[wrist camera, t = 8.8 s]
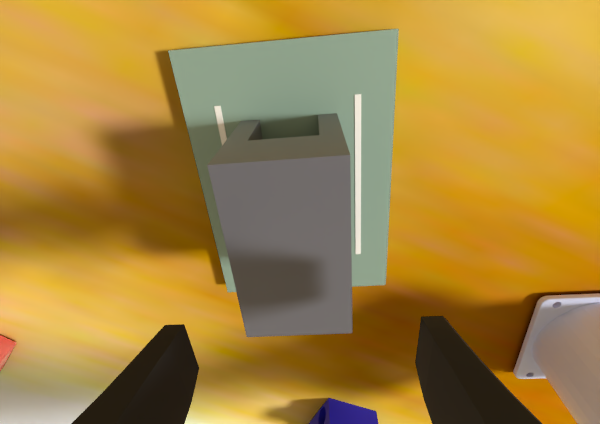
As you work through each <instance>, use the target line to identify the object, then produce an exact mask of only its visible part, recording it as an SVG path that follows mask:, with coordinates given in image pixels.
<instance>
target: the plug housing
mask: <svg viewBox="0 0 600 424" xmlns="http://www.w3.org/2000/svg"><path fill="white" fill-rule="evenodd" d="M318 124H319V135H315V136H302V137H288V138H275V139H262V132H261V125H260V119H259V120H246V121H241V122H240V123H239V125H238V126H237V127H236V128H235V130H234V131H233V132H232V134H231V135H230V136H229V138H228V139H227V140H226V141H225V143H224V144H223V145H222V147H221V148H220V149H219V150H218V152H217V153H216V154H215V156H214V157H213V158H212V160H211V161H210V162H209V163H208V165H207V166H208V171H209V175H210V179H211V184H212V188H213V192H214V197H215V201H216V205H217V210H218V214H219V218H220V223H221V227H222V231H223V236H224V240H225V244H226V249H227V253H228V257H229V262H230V266H231V270H232V274H233V279H234V283H235V287H236V292H237V296H238V300H239V305H240V309H241V313H242V318H243V322H244V326H245V331H246V335H247V337H262V336H290V335H317V334H344V333H352V253H351V172H350V152H349V149H348V146H347V143H346V140H345V137H344V134H343V131H342V127H341V124H340V121H339V118H338V115H337V113H334V114H322V115H318Z"/></svg>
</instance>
